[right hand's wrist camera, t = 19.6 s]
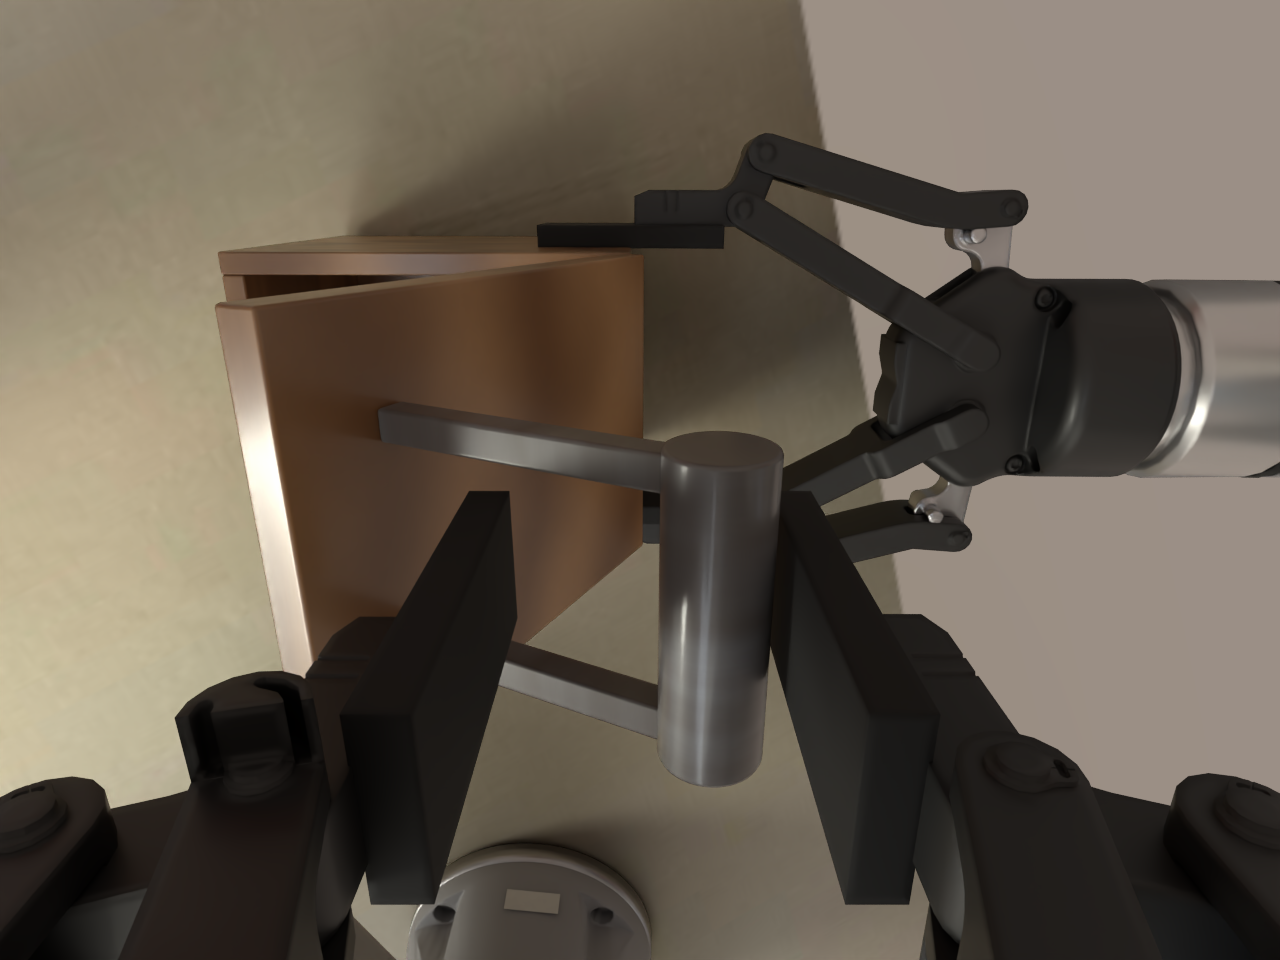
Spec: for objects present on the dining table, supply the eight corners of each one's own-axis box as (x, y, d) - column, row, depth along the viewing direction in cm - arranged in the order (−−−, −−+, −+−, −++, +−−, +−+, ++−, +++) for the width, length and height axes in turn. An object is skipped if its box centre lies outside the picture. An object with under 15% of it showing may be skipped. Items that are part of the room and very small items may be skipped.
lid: (302, 785, 16) (699, 973, 12) (211, 303, 12) (724, 351, 9) (618, 539, 27) (872, 596, 23) (616, 253, 24) (913, 264, 20)
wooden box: (368, 443, 38) (268, 536, 27) (342, 235, 34) (216, 251, 24) (631, 444, 38) (630, 536, 27) (631, 236, 34) (630, 252, 24)
